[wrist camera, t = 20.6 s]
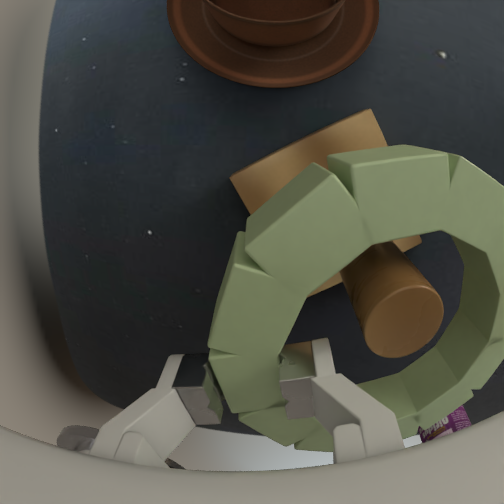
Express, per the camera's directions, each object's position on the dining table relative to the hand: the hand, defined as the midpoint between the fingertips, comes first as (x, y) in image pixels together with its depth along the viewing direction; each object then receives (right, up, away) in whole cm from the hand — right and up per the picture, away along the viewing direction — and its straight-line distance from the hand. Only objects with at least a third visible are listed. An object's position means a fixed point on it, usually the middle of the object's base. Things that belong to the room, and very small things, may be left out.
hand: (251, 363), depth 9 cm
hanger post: (+5, +6, +9) cm, 12 cm away
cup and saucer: (+1, +18, +5) cm, 19 cm away
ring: (+5, +1, +1) cm, 5 cm away
